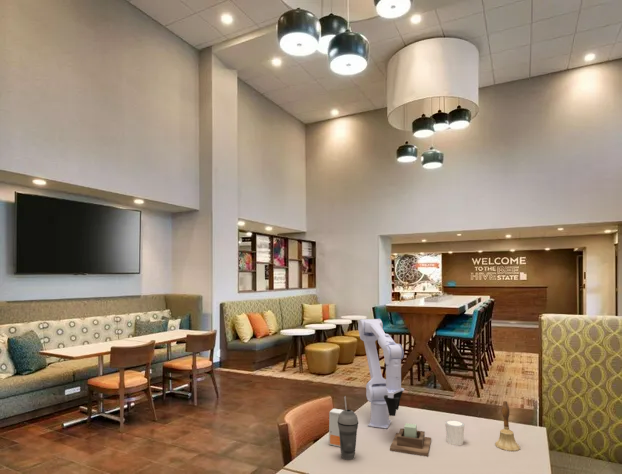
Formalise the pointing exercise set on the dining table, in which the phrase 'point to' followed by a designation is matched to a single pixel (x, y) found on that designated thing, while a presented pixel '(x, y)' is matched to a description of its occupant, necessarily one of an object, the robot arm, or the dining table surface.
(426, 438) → the well stand
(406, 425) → the block
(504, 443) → the hand bell
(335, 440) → the skincare box
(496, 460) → the dining table surface
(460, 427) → the white ribbed cylinder
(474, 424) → the dining table surface
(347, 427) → the beverage cup
